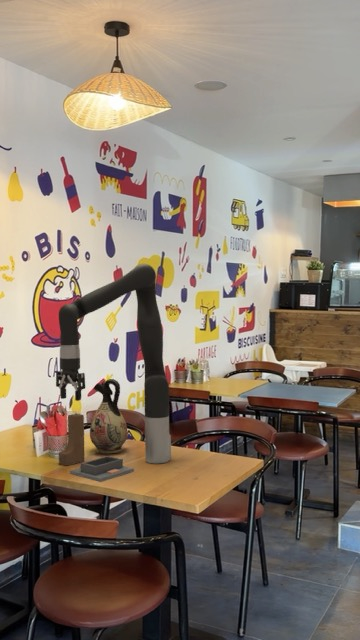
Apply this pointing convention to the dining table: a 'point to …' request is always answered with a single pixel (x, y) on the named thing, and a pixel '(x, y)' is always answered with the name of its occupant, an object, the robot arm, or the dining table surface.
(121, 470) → the pocket plate
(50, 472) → the dining table surface
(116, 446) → the ceramic jug
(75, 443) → the wooden block
